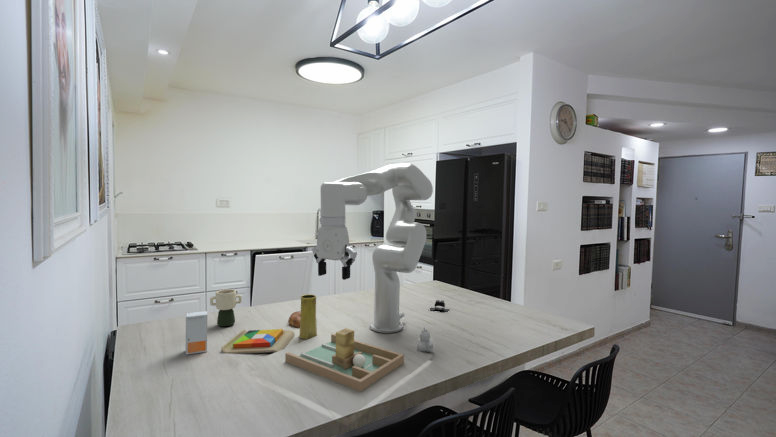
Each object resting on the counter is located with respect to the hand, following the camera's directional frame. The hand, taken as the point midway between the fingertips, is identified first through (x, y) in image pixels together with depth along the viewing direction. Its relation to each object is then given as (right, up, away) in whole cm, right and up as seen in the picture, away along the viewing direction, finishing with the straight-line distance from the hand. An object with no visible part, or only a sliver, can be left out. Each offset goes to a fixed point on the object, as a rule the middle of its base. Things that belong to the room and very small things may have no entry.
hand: (334, 276), depth 114 cm
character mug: (-45, -23, +25) cm, 56 cm away
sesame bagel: (-17, -23, +29) cm, 41 cm away
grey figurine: (+29, -25, +3) cm, 38 cm away
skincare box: (-43, -24, 0) cm, 49 cm away
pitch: (+4, -25, -8) cm, 26 cm away
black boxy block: (+40, -23, +49) cm, 67 cm away
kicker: (+5, -23, -8) cm, 25 cm away
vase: (-11, -24, +15) cm, 30 cm away
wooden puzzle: (-26, -24, +8) cm, 36 cm away
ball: (+9, -20, -12) cm, 25 cm away
